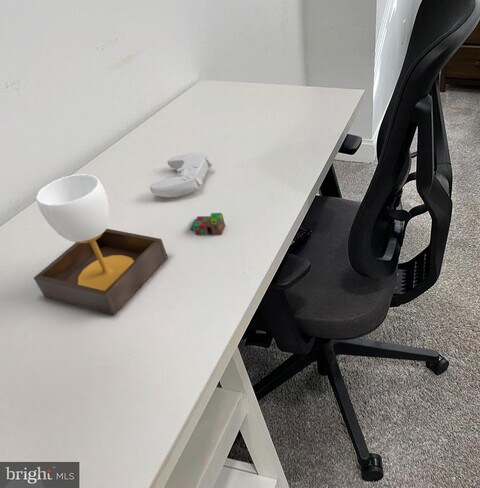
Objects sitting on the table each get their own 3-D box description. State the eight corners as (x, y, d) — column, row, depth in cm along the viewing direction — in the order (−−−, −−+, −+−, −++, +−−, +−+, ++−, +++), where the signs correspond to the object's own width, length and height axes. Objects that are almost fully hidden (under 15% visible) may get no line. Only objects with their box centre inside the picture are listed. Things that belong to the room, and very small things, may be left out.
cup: (147, 259, 80) (114, 175, 70) (115, 297, 73) (74, 210, 63) (100, 253, 82) (62, 170, 72) (65, 289, 75) (18, 203, 65)
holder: (114, 315, 71) (105, 295, 68) (44, 297, 75) (33, 277, 72) (168, 257, 81) (161, 238, 78) (103, 244, 85) (95, 226, 82)
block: (226, 221, 88) (223, 205, 86) (221, 234, 85) (217, 218, 83) (195, 221, 88) (190, 205, 86) (188, 234, 85) (183, 219, 83)
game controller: (168, 152, 104) (210, 142, 102) (177, 170, 107) (218, 160, 104) (143, 187, 93) (189, 177, 91) (154, 206, 95) (199, 196, 93)
